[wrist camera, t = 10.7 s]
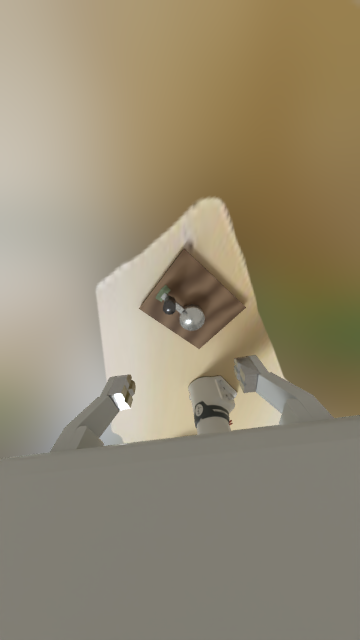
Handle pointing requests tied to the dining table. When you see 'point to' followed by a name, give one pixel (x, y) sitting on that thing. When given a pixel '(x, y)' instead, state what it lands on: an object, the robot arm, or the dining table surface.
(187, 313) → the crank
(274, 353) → the dining table surface
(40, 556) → the robot arm
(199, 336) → the board
